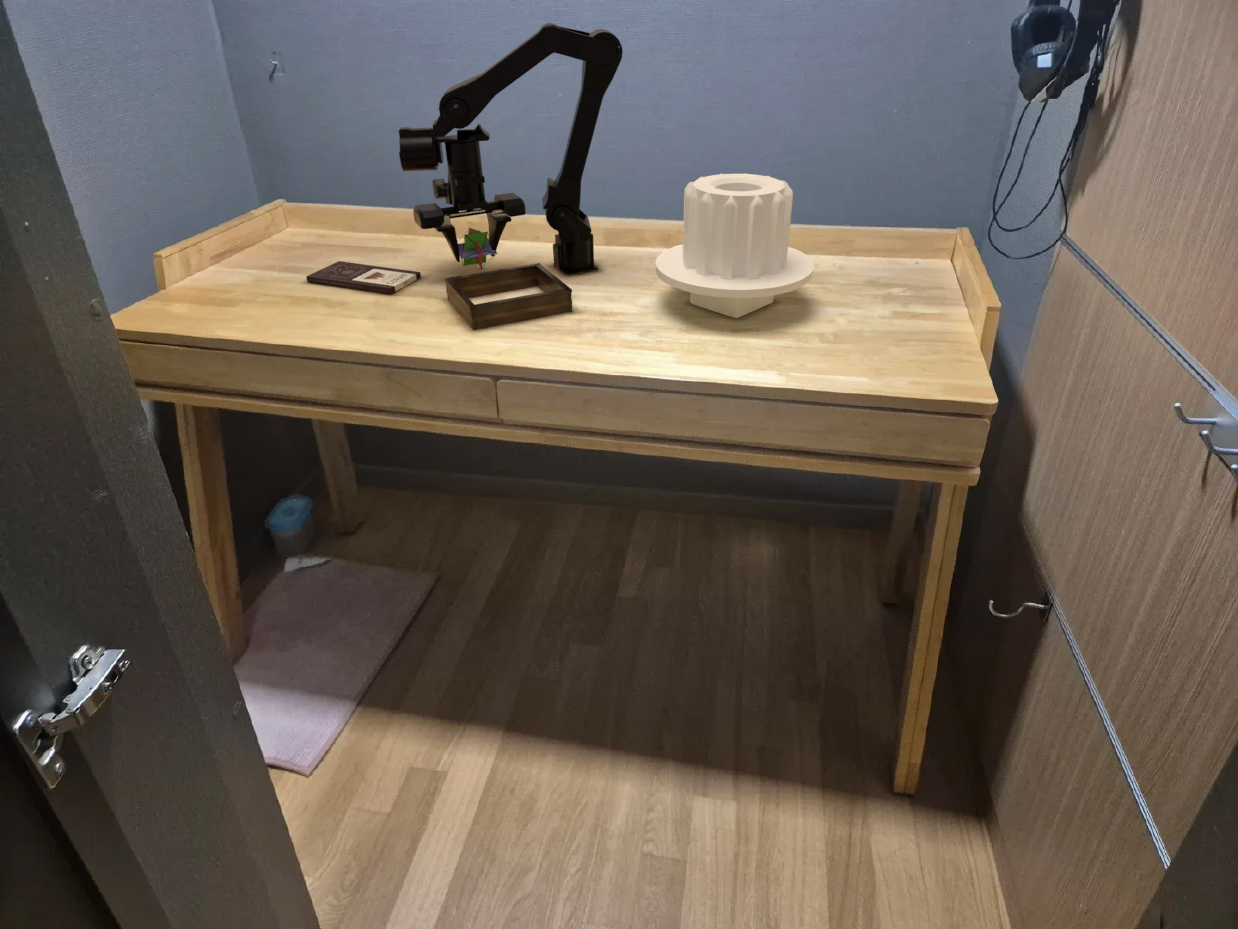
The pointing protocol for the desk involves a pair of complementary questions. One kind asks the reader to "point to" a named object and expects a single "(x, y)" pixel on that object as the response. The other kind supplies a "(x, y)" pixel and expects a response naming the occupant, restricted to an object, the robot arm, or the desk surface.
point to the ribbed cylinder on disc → (735, 244)
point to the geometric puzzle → (475, 248)
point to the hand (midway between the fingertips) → (475, 258)
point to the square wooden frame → (510, 309)
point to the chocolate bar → (364, 277)
